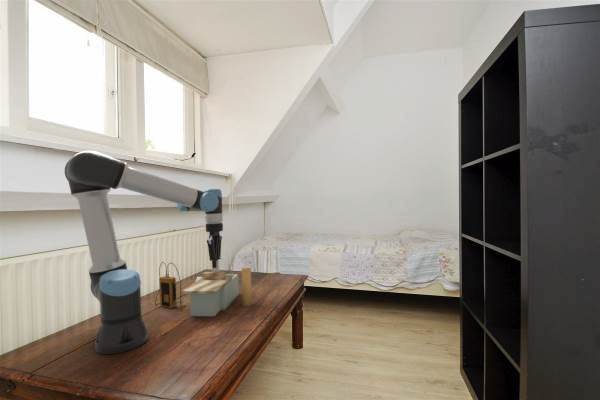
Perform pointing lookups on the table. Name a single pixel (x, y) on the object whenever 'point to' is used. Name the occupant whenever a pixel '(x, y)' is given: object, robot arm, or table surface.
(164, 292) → the multimeter
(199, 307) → the toolbox
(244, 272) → the long wooden block
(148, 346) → the table surface
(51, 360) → the table surface
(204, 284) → the lid
